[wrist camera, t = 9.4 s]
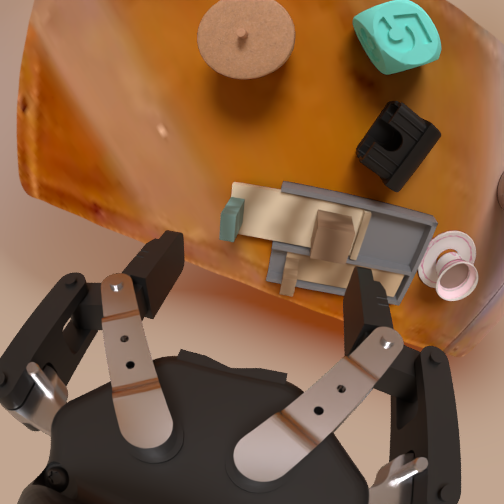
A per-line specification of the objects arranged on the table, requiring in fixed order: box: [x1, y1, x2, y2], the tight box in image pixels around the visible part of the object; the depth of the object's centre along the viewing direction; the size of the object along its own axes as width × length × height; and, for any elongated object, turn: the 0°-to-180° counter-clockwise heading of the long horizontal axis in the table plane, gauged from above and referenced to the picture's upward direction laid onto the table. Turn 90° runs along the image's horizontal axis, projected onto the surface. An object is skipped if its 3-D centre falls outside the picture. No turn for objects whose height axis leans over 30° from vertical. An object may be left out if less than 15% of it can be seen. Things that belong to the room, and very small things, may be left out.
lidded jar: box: [197, 0, 295, 79], centre depth 27 cm, size 11×11×9 cm
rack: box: [266, 181, 438, 305], centre depth 44 cm, size 24×17×2 cm
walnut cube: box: [310, 210, 355, 265], centre depth 40 cm, size 5×5×5 cm
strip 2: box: [280, 252, 404, 297], centre depth 45 cm, size 20×5×6 cm, turn 84°
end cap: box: [356, 101, 441, 192], centre depth 32 cm, size 10×7×7 cm
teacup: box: [418, 231, 478, 301], centre depth 40 cm, size 12×12×6 cm
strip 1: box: [219, 182, 372, 260], centre depth 41 cm, size 20×8×6 cm, turn 84°
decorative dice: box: [353, 0, 441, 75], centre depth 24 cm, size 8×8×8 cm
